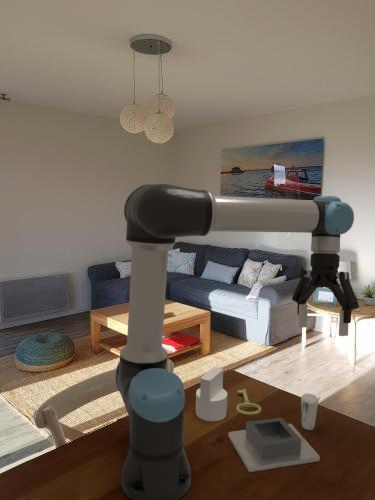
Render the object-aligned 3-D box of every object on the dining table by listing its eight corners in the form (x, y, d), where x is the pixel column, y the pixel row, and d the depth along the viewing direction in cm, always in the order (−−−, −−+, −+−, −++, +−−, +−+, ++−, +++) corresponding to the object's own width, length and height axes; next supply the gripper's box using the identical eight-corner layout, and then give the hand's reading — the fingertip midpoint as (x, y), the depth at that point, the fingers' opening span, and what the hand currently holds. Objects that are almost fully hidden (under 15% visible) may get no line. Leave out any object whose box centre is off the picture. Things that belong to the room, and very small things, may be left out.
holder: (249, 472, 91) (249, 453, 90) (228, 436, 104) (228, 419, 103) (319, 460, 95) (320, 442, 94) (290, 427, 108) (291, 411, 108)
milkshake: (312, 435, 105) (314, 399, 104) (296, 425, 109) (297, 391, 108) (322, 429, 108) (325, 394, 106) (306, 420, 112) (308, 386, 111)
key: (244, 394, 127) (244, 387, 127) (263, 414, 116) (264, 407, 116) (224, 397, 125) (224, 391, 125) (241, 418, 114) (241, 411, 113)
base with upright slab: (218, 424, 109) (219, 383, 108) (190, 415, 114) (190, 375, 112) (231, 409, 117) (232, 371, 115) (204, 401, 121) (205, 364, 120)
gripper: (375, 254, 100) (372, 339, 99) (299, 254, 122) (296, 323, 121) (357, 252, 96) (353, 340, 95) (282, 252, 118) (278, 324, 117)
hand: (321, 331), depth 108 cm, fingers open, 13 cm apart
